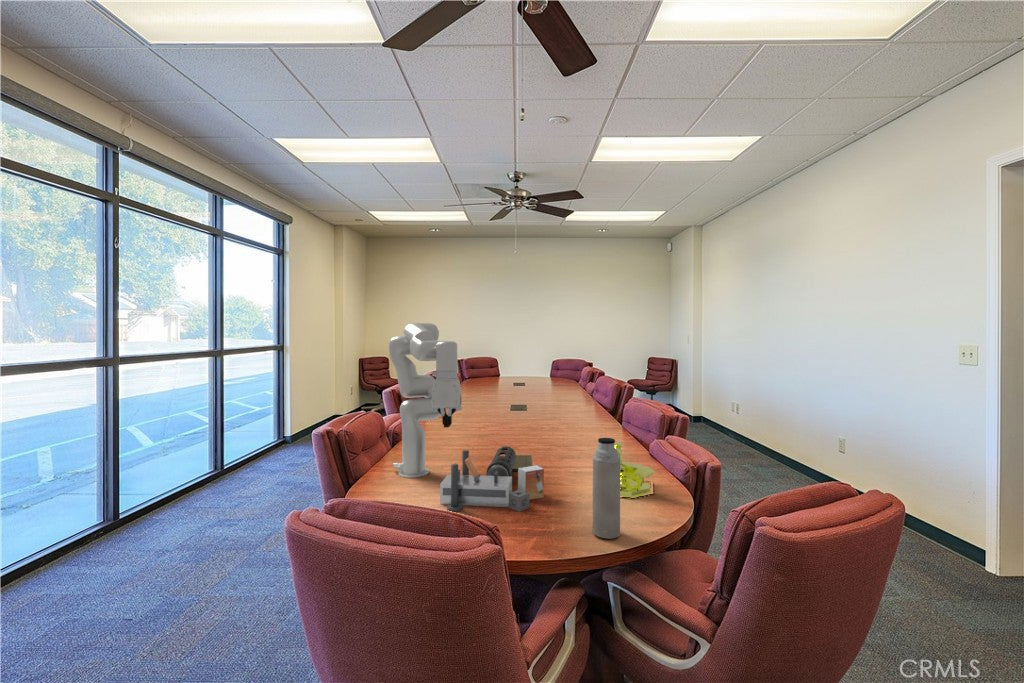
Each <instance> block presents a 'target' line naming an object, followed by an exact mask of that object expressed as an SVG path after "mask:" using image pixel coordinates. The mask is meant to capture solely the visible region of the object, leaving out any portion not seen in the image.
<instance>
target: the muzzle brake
mask: <svg viewBox="0 0 1024 683" xmlns="http://www.w3.org/2000/svg"><path fill="white" fill-rule="evenodd" d="M504 455H505V456H504ZM516 459H517V454H516V451H515V450H514V449H513V448H512V447H510V446H507V445H504V446H500V447H499V448H498V450H496V453H495V455H494V457H493V459H491V463H490V464H488V467H487V469H486V472H485V474H486V475H485V476H494V474H495V472H496V471H498V476H510V477H512V474H513V473H512V472H513V468H514V466H515V462H516Z"/></svg>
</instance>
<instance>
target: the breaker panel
mask: <svg viewBox="0 0 1024 683" xmlns="http://www.w3.org/2000/svg"><path fill="white" fill-rule="evenodd" d="M511 492H513V476H511V477H510V476H498V471H496V472H495V474H494V476H486V475H481V474H480V478H479V479H478V481H477V482H475V481H474V477H473V476H472V474H469V475H463V474H461V469H458V504H461V505H462V506H471V507H472V506H475V507H495V508H496V507H498V508H509V493H511ZM439 501H440V502H439V505H445V506H446V505H447V506H448V505H449V504H451V473H450V474H447V475H446V476H445V477H444V479H442V481H441V482H440V484H439Z"/></svg>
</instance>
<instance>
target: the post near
mask: <svg viewBox="0 0 1024 683" xmlns="http://www.w3.org/2000/svg"><path fill="white" fill-rule="evenodd" d="M458 470H459V464H458V463H451V465H450V474H451V504H449V505H447V506H446V510H447V511H448V510H449V511H448V512H450V511H454V512H453V513H456V512H457V513H458V512H460V511H462V510H463V505H461V504H458Z"/></svg>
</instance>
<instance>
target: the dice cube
mask: <svg viewBox="0 0 1024 683" xmlns="http://www.w3.org/2000/svg"><path fill="white" fill-rule="evenodd" d="M508 508H509V509H512V510H514V511H515V512H516V511H517V512H518V513H520V512H522V511H524V510H527V509H529V508H530V500H529V493H527V492H524V491H521V490H518V489H517V490H515V491H512V492H511V493H509V507H508Z"/></svg>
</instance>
